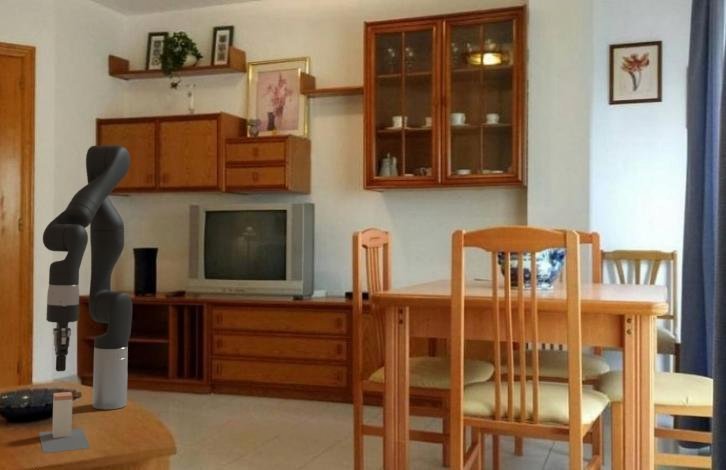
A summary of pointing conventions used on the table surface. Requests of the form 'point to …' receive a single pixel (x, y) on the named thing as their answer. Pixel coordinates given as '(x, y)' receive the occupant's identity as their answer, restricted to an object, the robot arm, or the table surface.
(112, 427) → the table surface
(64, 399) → the cream block
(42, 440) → the slate mat
